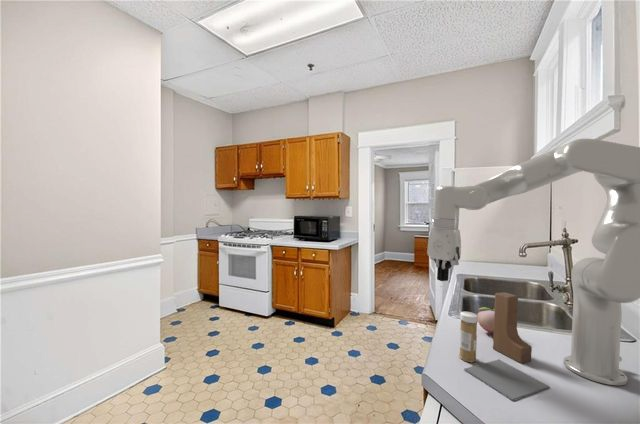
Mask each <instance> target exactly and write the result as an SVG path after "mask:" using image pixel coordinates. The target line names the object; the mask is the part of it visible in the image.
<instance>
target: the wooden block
mask: <svg viewBox="0 0 640 424" xmlns="http://www.w3.org/2000/svg"><path fill="white" fill-rule="evenodd" d="M518 305H519V296H518V295H516V294H512V293H508V292H506V291H504V292H495V294H494V309H495V312H494V333H493V338H492V339H493V340H492V341H493V342H492V343H493V344H492V349H493V350H495V351H496V352H499V353H500V354H502V355H504V356H505V357H508V358H510V359H512V360H514V361H516V362H517V363H519V364H525V363H528V362H531V361H532V353H533V352H532V351H533V350H532V346H531V344H530V345H529V344H528V343H527V342H526V341H523V339H522V338H521V336H520V335H519V333H518V312H519V311H518V309H519V308H518Z"/></svg>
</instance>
